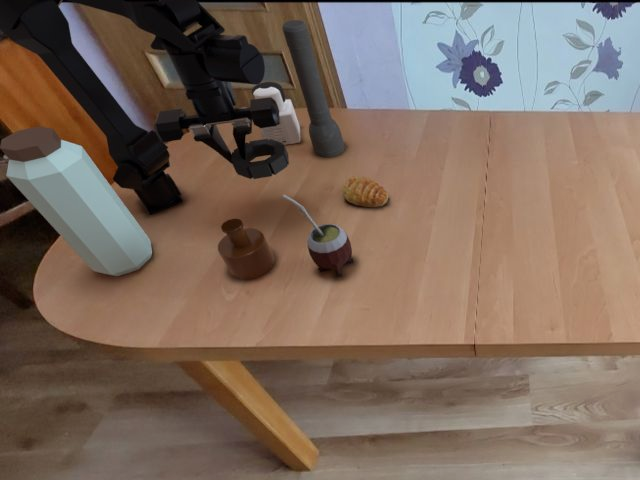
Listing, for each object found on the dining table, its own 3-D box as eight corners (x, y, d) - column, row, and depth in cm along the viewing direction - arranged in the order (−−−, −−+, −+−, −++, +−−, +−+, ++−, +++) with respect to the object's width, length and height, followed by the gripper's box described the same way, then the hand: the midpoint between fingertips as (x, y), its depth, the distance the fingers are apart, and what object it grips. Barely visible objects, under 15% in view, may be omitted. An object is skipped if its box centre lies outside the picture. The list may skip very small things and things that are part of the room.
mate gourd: (360, 272, 84) (341, 207, 73) (316, 286, 82) (289, 221, 71) (350, 246, 89) (330, 181, 78) (307, 259, 86) (281, 194, 75)
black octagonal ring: (287, 147, 92) (283, 136, 90) (289, 173, 86) (285, 161, 84) (237, 155, 90) (232, 143, 88) (235, 182, 84) (230, 170, 82)
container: (268, 131, 117) (248, 80, 107) (300, 127, 118) (283, 76, 109) (267, 147, 112) (246, 95, 102) (300, 143, 113) (283, 91, 104)
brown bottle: (239, 286, 82) (216, 246, 75) (224, 262, 85) (200, 223, 79) (281, 265, 85) (263, 226, 78) (264, 244, 89) (245, 204, 82)
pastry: (395, 195, 100) (393, 180, 97) (378, 213, 96) (375, 199, 93) (358, 184, 102) (354, 170, 99) (340, 202, 98) (336, 187, 95)
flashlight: (336, 138, 115) (309, 147, 112) (303, 14, 94) (269, 22, 91) (349, 150, 111) (322, 160, 108) (318, 25, 91) (282, 33, 88)
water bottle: (146, 276, 83) (48, 154, 64) (85, 282, 82) (-33, 160, 63) (164, 238, 89) (80, 118, 71) (107, 244, 88) (7, 122, 70)
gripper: (263, 51, 82) (290, 131, 93) (143, 64, 77) (188, 146, 89) (262, 78, 75) (292, 161, 86) (131, 94, 70) (181, 179, 82)
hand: (239, 161), depth 86 cm, fingers closed on black octagonal ring, 2 cm apart
